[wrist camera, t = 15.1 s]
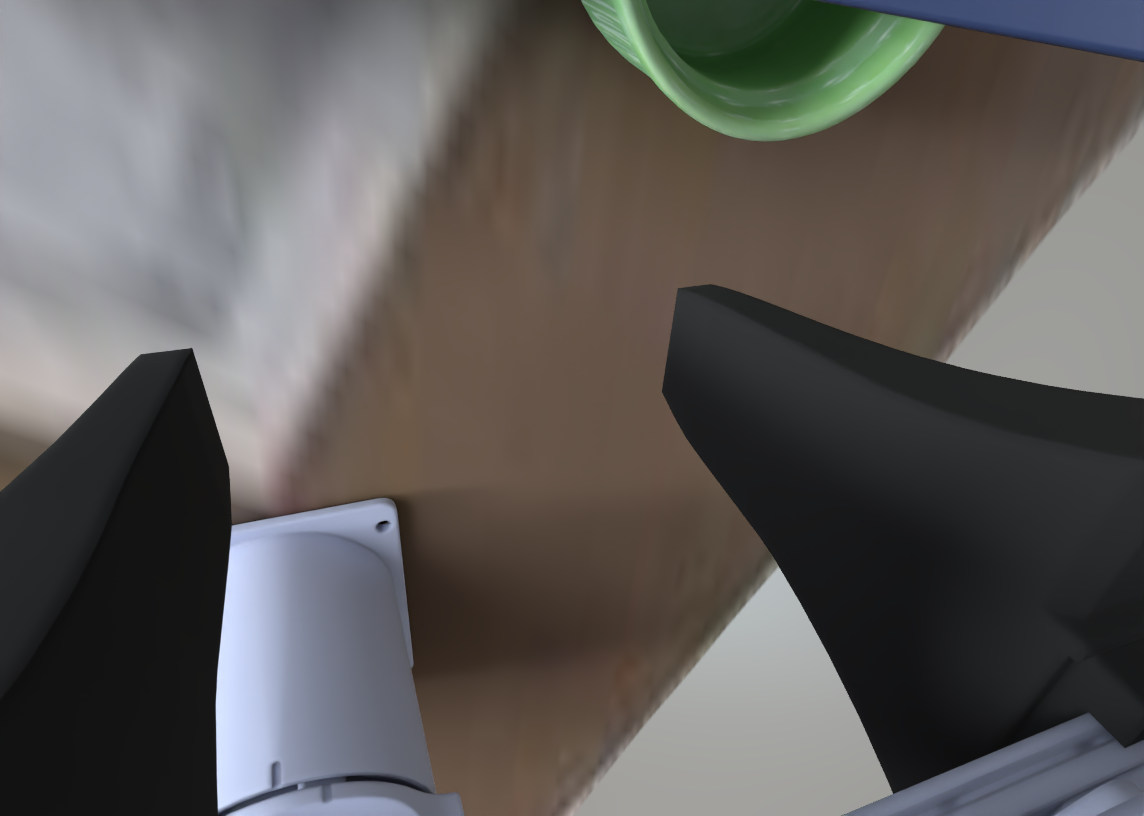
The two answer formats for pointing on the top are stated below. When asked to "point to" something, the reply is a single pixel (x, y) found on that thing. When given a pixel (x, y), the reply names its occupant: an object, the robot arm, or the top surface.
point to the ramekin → (764, 58)
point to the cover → (1033, 20)
